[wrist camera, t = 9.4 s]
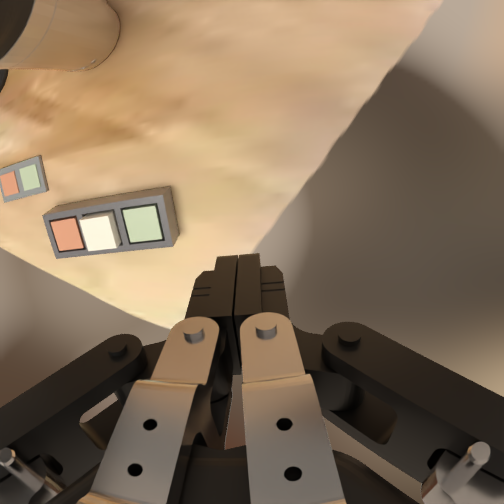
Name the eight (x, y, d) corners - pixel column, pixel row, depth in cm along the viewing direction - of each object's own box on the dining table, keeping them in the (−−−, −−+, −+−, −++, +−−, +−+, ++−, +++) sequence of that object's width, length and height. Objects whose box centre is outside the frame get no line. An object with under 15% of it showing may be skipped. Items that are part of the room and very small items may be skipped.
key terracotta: (59, 215, 37) (50, 222, 35) (83, 211, 37) (74, 218, 35) (67, 243, 39) (59, 250, 37) (91, 240, 39) (83, 247, 37)
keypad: (55, 206, 38) (42, 215, 35) (170, 186, 37) (162, 194, 34) (67, 247, 41) (56, 258, 38) (179, 234, 40) (173, 246, 37)
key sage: (129, 203, 37) (122, 210, 35) (160, 199, 37) (155, 205, 35) (136, 234, 39) (130, 242, 36) (167, 230, 38) (162, 239, 36)
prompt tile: (-2, 169, 35) (-5, 171, 34) (40, 155, 35) (37, 156, 34) (6, 201, 37) (3, 203, 37) (48, 190, 37) (45, 192, 36)
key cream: (87, 213, 36) (79, 220, 34) (115, 208, 36) (107, 215, 34) (96, 242, 38) (88, 251, 36) (123, 239, 38) (116, 248, 35)
